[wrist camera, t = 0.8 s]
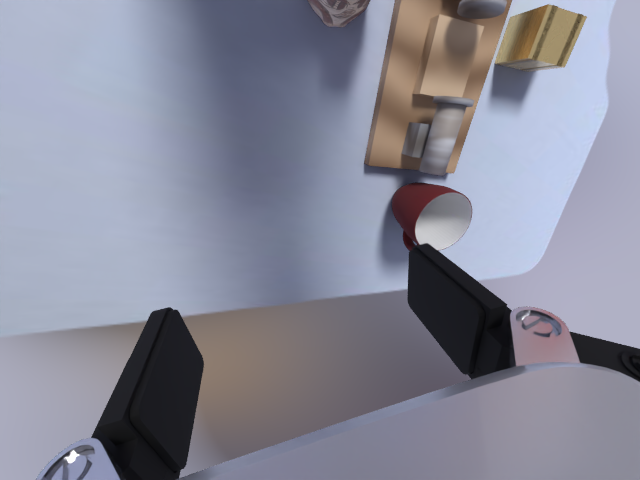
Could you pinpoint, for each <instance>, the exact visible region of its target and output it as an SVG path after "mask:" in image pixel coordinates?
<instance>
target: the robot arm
mask: <svg viewBox="0 0 640 480" xmlns="http://www.w3.org/2000/svg"><path fill="white" fill-rule="evenodd" d="M408 304H409V306H410V308H411V309H412V310H413V312H414V313H415V314H416V315H417V317H418V318H419V319H420V320H421V322H422V323H423V324H424V325H425V327H426V328H427V329H428V331H429V332H430V333H431V334H432V335H433V337H434V338H435V339H436V341H437V342H438V343H439V344H440V346H441V347H442V348H443V349H444V351H445V352H446V353H447V355H448V356H449V357H450V358H451V360H452V361H453V362H454V363H455V365H456V366H457V367H458V368H459V370H460V371H461V372H462V373H463V374H468V375H469V377H470V378H471V380H468V381H465V382H462V383H458V384H455V385H453V386H449V387H446V388H443V389H440V390H437V391H434V392H431V393H428V394H425V395H422V396H419V397H416V398H413V399H410V400H407V401H404V402H401V403H398V404H395V405H392V406H389V407H386V408H383V409H380V410H377V411H374V412H371V413H368V414H365V415H362V416H359V417H356V418H353V419H350V420H347V421H344V422H341V423H338V424H335V425H333V426H329V427H326V428H323V429H320V430H318V431H314V432H312V433H309V434H306V435H303V436H300V437H297V438H294V439H291V440H288V441H286V442H282V443H279V444H276V445H273V446H271V447H268V448H265V449H262V450H259V451H256V452H253V453H250V454H247V455H244V456H241V457H238V458H236V459H233V460H230V461H227V462H224V463H221V464H218V465H216V466H212V467H210V468H207V469H204V470H202V471H199V472H196V473H193V474H190V475H188V476H185V477H182V478H179V475H180V470H181V469H184V467H185V465H186V462H187V457H188V452H189V446H190V440H191V435H192V429H193V424H194V418H195V412H196V406H197V401H198V395H199V390H200V384H201V378H202V373H203V367H204V362H203V358H202V355H201V353H200V352H199V350H198V348H197V346H196V344H195V342H194V340H193V338H192V336H191V334H190V333H189V331H188V329H187V327H186V325H185V323H184V321H183V319H182V317H181V315H180V313H179V312H178V310H173V309H172V308H170V307H168V308H164V309H160V310H156V311H153V312H152V313H151V314H150V317H149V319H148V321H147V323H146V325H145V327H144V329H143V331H142V334H141V336H140V338H139V340H138V342H137V344H136V346H135V348H134V350H133V353H132V354H131V357H130V358H129V360H128V362H127V364H126V366H125V368H124V370H123V372H122V374H121V376H120V378H119V381H118V383H117V385H116V387H115V389H114V391H113V393H112V395H111V398H110V399H109V401H108V403H107V406H106V408H105V410H104V412H103V414H102V416H101V418H100V420H99V422H98V424H97V427H96V429H95V431H94V433H93V435H92V437H91V438H87V439H83V440H80V441H78V442H76V443H74V444H71V445H70V446H69V447H67V448H66V449H64V450H63V451H61V452H60V453H59V454H58V455H56V456H55V457H54V459H52V460H51V461H50V462H49V463H48V464H47V465H46V466H45V468H44V469H43V470H42V471H41V472H40V474H39V475H38V477H37V478H36V480H640V349H638V348H634V347H630V346H626V345H622V344H618V343H614V342H610V341H606V340H602V339H597V338H593V337H589V336H585V335H581V334H577V333H573V332H569V329H568V328H567V326H566V324H565V323H564V322H563V321H562V320H561V319H560V318H558V317H557V316H555V315H554V314H552V313H550V312H548V311H545V310H543V309H539V308H535V307H527V306H526V307H518V308H516V309H514V310H513V311H512V310H510V309H509V308H508V307H507V304H506V303H504V302H503V301H502V300H501V299H499V298H498V297H497V296H495V295H494V294H493V293H492V292H490V291H489V290H488V289H486V288H485V287H484V286H483V285H481V284H480V283H479V282H477V281H476V280H475V279H474V278H472V277H471V276H470V275H468V274H467V273H466V272H465V271H463V270H462V269H461V268H459V267H458V266H457V265H456V264H454V263H453V262H452V261H450V260H449V259H448V258H447V257H445V256H444V255H443V254H441V253H440V252H439V251H437V250H436V249H435V248H434V247H432V246H431V245H430V244H428V243H425V244H421V245H417V246H414V247H413V248H412V250H411V251H410V252H409V269H408Z"/></svg>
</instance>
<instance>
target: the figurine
mask: <svg viewBox="0 0 640 480" xmlns="http://www.w3.org/2000/svg"><path fill="white" fill-rule="evenodd" d="M308 2H309V3H310V5H311V7H312V9H313V10H314V11H315V12H316V14H317V15H318V16H319V17H321V19H322V21H323V23H324V24H326V25H327V26H328V27H333V26H334V27H345V26H346V25H347V24H348V23H349V22H350V21H352V20H353V19H354V18H356V17H357V16H359V15H360V14H361V13H362V12H363V11H364V10H365V9H366V8H367V6H368V4H369V2H370V0H308Z"/></svg>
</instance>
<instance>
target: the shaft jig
mask: <svg viewBox="0 0 640 480" xmlns="http://www.w3.org/2000/svg"><path fill="white" fill-rule="evenodd" d="M511 2H512V0H395V4H394V9H393V15H392V20H391V25H390V30H389V36H388V41H387V46H386V51H385V57H384V62H383V67H382V72H381V78H380V83H379V88H378V93H377V98H376V104H375V109H374V114H373V119H372V125H371V130H370V135H369V140H368V146H367V151H366V156H365V161H364V163H365V164H367V165H369V166H380V167H391V168H402V169H413V170H419V171H421V172H424V173H428V174H433V175H440V176H443V175H445V172H446V173H454V172H455V169H456V166H457V163H458V160H459V157H460V154H461V151H462V148H463V145H464V142H465V139H466V136H467V133H468V130H469V127H470V124H471V121H472V118H473V115H474V112H475V109H476V106H477V103H478V100H479V97H480V94H481V91H482V88H483V85H484V82H485V79H486V76H487V73H488V70H489V67H490V64H491V62H492V59H493V56H494V53H495V50H496V47H497V44H498V41H499V38H500V35H501V32H502V29H503V26H504V23H505V20H506V17H507V14H508V11H509V8H510V5H511Z"/></svg>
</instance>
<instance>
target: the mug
mask: <svg viewBox="0 0 640 480" xmlns="http://www.w3.org/2000/svg"><path fill="white" fill-rule="evenodd" d="M392 210H393V214H394V216H395V218H396V220H397V221H398V223H399V224H400V225H401V227H402V228H403V230H404V231H403V241H404V244H405V246H406V247H407V249H408V250H409V251H411V250H412V248H413V247H414V246H417V245H421V244H425V243H428V244H430V245H431V246H432V247H434V248H435V249H436V250H437V251H439V250H443V249H446V248H448V247H450V246H451V245H453V244H454V243H456V242H457V241H458V240H459V239H460V238H461V237H462V236H463V235H464V233H465V232H466V230H467V229H468V227H469V224H470V222H471V218H472V206H471V203H470V201H469V199H468V198H467V197H466V196H465V195H463V194H462V193H459V192H457V191H455V190H453V189H451V188H448V187H445V186H440V185H434V184H427V183H411V184H408V185H405V186H403V187H401V188H399V189H398V190H397V191H396V192H395V194H394V196H393V198H392ZM413 241H414V242H416V243H417V245H415V244H414V243H413Z"/></svg>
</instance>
